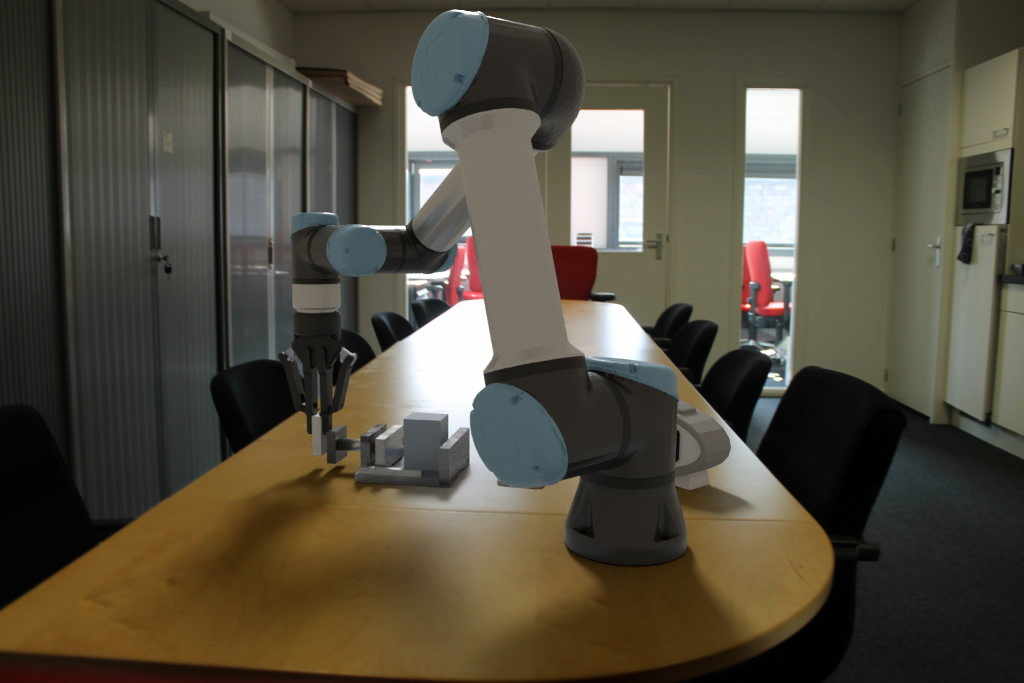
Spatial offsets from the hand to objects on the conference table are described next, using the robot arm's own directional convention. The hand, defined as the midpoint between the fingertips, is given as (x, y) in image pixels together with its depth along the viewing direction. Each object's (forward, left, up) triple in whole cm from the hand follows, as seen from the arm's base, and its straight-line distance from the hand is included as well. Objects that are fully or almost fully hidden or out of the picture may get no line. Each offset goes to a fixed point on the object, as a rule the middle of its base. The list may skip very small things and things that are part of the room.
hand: (320, 453), depth 136 cm
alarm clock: (+6, -54, -3) cm, 55 cm away
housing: (0, -18, -1) cm, 18 cm away
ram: (0, -7, -1) cm, 7 cm away
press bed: (0, -16, -2) cm, 16 cm away
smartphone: (+3, -34, -3) cm, 35 cm away
